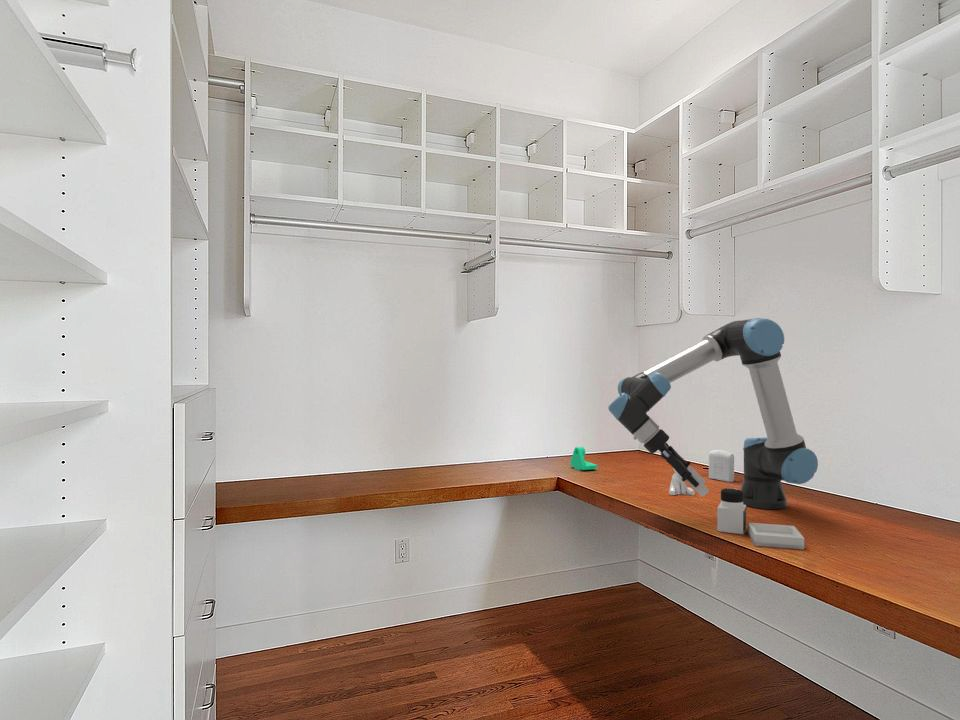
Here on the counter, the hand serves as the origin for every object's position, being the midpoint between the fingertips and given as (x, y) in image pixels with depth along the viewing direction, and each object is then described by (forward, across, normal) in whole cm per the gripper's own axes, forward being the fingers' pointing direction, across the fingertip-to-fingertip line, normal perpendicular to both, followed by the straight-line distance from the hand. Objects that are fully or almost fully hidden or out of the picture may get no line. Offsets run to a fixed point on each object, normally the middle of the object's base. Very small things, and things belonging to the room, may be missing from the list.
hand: (704, 489), depth 175 cm
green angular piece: (-23, -86, -40) cm, 98 cm away
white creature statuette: (+4, -46, -12) cm, 48 cm away
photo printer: (+17, -76, 0) cm, 78 cm away
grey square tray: (+21, +8, +4) cm, 22 cm away
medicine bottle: (+14, 0, -3) cm, 14 cm away
